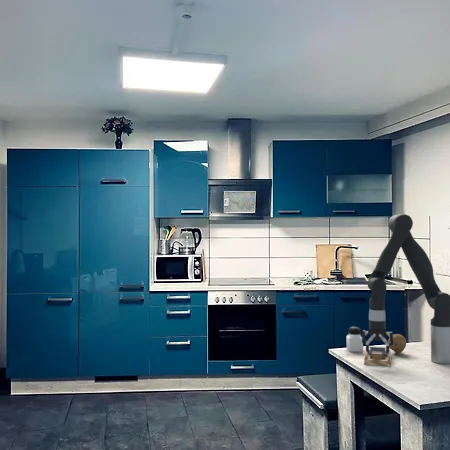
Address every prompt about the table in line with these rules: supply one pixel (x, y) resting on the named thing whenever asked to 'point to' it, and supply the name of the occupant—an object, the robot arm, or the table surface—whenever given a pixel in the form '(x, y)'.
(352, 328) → the medicine bottle
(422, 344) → the table surface
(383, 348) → the cover
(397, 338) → the natural sponge
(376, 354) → the block
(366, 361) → the wooden tray
